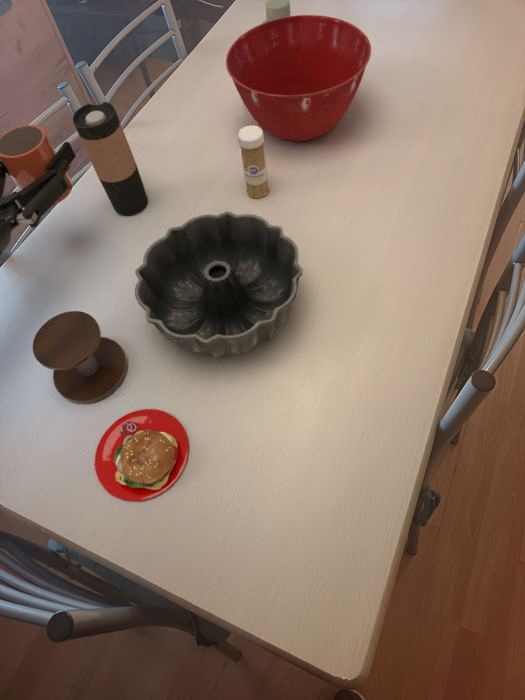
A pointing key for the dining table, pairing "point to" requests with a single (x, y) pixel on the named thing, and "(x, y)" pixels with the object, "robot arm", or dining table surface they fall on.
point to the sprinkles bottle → (254, 160)
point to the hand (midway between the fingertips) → (47, 146)
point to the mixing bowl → (299, 73)
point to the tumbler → (28, 155)
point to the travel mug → (111, 157)
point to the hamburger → (141, 454)
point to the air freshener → (277, 9)
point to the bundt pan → (219, 283)
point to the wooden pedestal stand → (80, 357)
